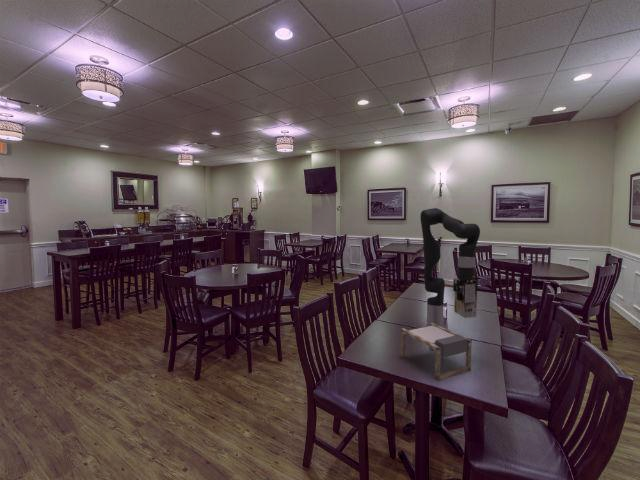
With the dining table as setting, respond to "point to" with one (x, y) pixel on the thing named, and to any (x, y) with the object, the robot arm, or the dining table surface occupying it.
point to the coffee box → (467, 300)
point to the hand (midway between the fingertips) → (465, 299)
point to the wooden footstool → (438, 352)
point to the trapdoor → (443, 340)
